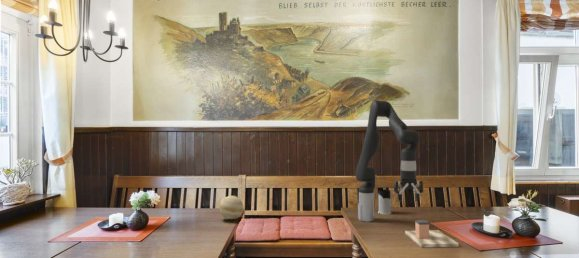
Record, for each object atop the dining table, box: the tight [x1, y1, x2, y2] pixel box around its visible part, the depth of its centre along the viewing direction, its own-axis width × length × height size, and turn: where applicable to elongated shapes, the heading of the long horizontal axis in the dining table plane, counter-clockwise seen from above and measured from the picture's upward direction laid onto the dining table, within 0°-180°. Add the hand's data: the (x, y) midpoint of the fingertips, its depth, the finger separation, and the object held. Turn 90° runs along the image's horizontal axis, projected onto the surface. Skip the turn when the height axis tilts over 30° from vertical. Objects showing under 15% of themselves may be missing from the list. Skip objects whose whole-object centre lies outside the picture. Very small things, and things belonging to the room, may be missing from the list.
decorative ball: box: [219, 195, 244, 220], centre depth 225 cm, size 15×15×15 cm
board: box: [404, 229, 460, 249], centre depth 181 cm, size 18×22×2 cm
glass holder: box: [377, 189, 399, 215], centre depth 238 cm, size 9×14×15 cm, turn 96°
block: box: [414, 219, 430, 239], centre depth 181 cm, size 5×5×8 cm
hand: (408, 201), depth 181 cm, fingers open, 8 cm apart
